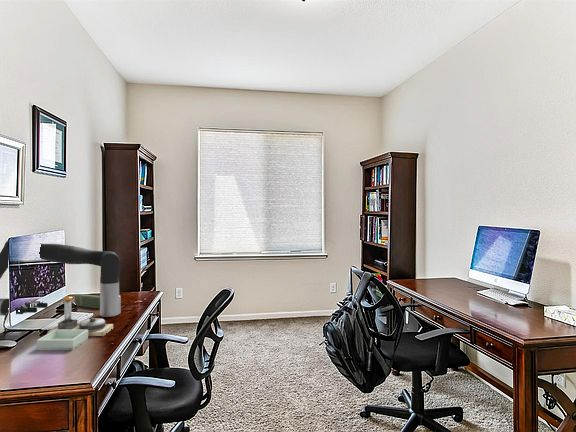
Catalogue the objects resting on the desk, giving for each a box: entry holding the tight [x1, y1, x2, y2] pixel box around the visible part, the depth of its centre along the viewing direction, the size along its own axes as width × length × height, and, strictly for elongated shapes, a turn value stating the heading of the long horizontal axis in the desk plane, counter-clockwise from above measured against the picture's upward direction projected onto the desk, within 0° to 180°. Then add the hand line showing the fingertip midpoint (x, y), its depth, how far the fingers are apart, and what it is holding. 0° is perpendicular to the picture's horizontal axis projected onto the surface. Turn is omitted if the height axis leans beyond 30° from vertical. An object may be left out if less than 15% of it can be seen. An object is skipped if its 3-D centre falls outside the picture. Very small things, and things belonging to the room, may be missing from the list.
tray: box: [36, 330, 89, 351], centre depth 169 cm, size 14×14×4 cm
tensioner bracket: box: [46, 317, 114, 337], centre depth 185 cm, size 24×12×6 cm, turn 93°
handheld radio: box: [74, 293, 100, 309], centre depth 230 cm, size 7×3×25 cm
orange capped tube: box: [62, 295, 74, 323], centre depth 184 cm, size 4×4×14 cm
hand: (42, 307), depth 184 cm, fingers open, 8 cm apart
